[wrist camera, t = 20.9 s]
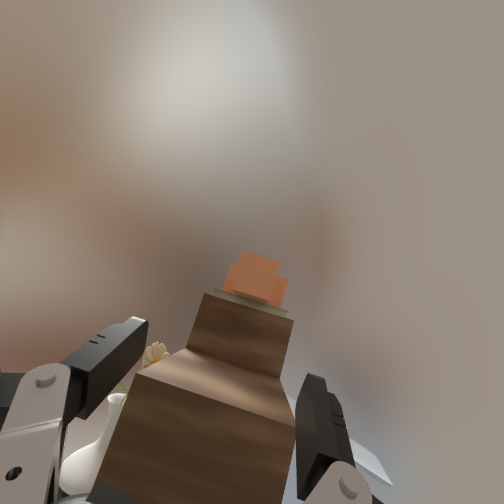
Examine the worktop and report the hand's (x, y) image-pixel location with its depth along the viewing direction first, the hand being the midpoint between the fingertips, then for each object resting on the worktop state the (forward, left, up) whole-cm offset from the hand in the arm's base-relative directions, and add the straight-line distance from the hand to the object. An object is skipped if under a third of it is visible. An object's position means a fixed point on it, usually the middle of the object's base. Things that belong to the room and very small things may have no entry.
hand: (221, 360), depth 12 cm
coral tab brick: (+15, +15, +4) cm, 21 cm away
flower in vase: (+15, +42, -34) cm, 56 cm away
